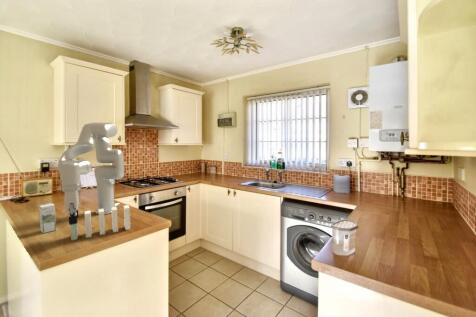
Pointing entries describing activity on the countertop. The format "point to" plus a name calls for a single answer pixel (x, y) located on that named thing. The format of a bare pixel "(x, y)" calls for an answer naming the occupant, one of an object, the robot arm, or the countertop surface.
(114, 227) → the domino
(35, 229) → the countertop surface
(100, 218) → the domino
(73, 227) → the sage domino
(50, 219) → the syrup box
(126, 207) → the domino
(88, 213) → the domino
